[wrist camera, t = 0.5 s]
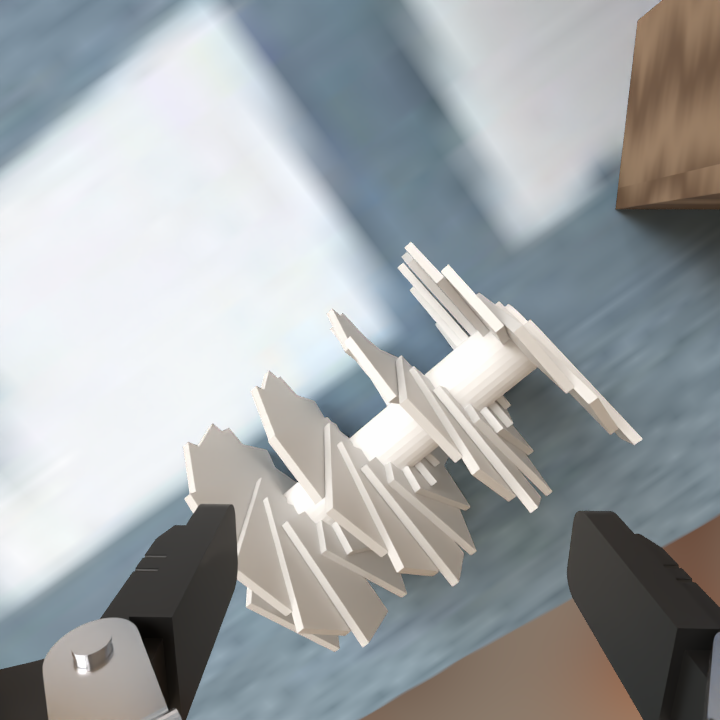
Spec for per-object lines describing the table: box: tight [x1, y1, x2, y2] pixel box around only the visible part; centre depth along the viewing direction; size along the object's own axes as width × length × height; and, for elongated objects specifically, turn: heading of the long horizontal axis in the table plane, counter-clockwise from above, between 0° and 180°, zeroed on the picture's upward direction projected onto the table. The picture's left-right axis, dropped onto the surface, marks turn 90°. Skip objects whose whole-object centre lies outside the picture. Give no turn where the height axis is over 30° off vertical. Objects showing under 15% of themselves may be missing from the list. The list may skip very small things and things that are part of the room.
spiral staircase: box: [183, 242, 642, 652], centre depth 32 cm, size 18×18×25 cm
